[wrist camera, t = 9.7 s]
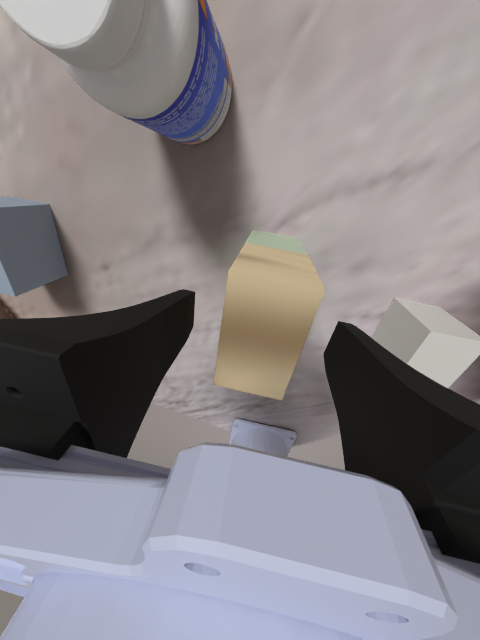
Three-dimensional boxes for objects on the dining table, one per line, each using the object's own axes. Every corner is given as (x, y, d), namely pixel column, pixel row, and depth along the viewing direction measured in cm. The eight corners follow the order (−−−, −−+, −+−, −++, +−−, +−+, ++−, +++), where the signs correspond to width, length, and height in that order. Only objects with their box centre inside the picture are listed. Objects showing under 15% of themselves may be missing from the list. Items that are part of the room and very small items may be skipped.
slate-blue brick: (68, 274, 21) (15, 296, 17) (34, 267, 21) (-28, 287, 17) (50, 204, 18) (-22, 208, 14) (9, 196, 18) (-74, 198, 14)
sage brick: (279, 308, 19) (280, 341, 15) (240, 300, 20) (230, 331, 15) (299, 238, 16) (307, 255, 12) (252, 229, 17) (244, 243, 12)
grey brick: (398, 362, 21) (430, 407, 16) (360, 354, 21) (382, 396, 16) (438, 305, 17) (490, 343, 13) (393, 297, 18) (430, 331, 13)
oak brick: (280, 341, 15) (281, 400, 11) (230, 330, 15) (213, 384, 11) (308, 254, 12) (325, 290, 8) (245, 242, 12) (228, 270, 8)
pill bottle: (251, 64, 12) (197, -205, 4) (206, 165, 15) (118, 133, 7) (163, -12, 11) (-153, -579, 3) (132, 110, 14) (-80, -9, 6)
